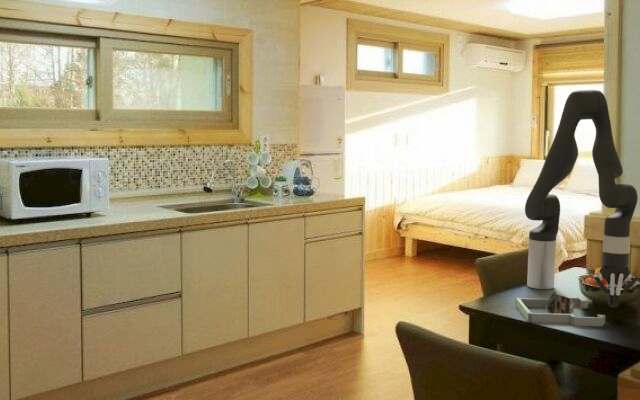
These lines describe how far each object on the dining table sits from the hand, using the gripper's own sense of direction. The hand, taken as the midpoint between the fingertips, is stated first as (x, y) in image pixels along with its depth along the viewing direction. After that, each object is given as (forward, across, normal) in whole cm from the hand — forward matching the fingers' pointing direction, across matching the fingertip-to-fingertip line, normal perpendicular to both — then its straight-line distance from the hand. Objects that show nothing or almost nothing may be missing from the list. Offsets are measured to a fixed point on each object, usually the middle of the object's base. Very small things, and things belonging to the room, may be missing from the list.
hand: (613, 306), depth 205 cm
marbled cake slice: (+4, +15, 0) cm, 15 cm away
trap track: (+3, +16, 0) cm, 16 cm away
